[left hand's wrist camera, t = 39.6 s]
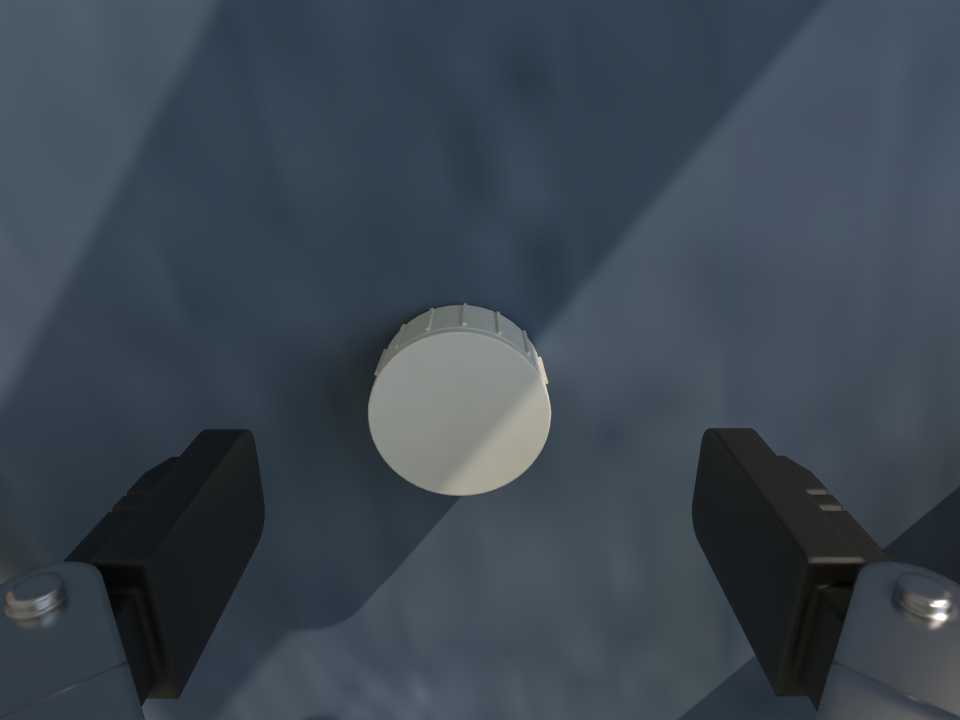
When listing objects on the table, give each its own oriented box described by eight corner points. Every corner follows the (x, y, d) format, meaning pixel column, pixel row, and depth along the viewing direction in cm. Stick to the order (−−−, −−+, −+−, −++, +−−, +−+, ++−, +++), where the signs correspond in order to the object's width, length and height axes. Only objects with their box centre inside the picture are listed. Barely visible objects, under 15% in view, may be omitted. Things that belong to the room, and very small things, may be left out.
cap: (442, 269, 14) (438, 292, 12) (576, 366, 15) (590, 401, 13) (348, 396, 15) (330, 435, 13) (477, 480, 16) (477, 527, 14)
